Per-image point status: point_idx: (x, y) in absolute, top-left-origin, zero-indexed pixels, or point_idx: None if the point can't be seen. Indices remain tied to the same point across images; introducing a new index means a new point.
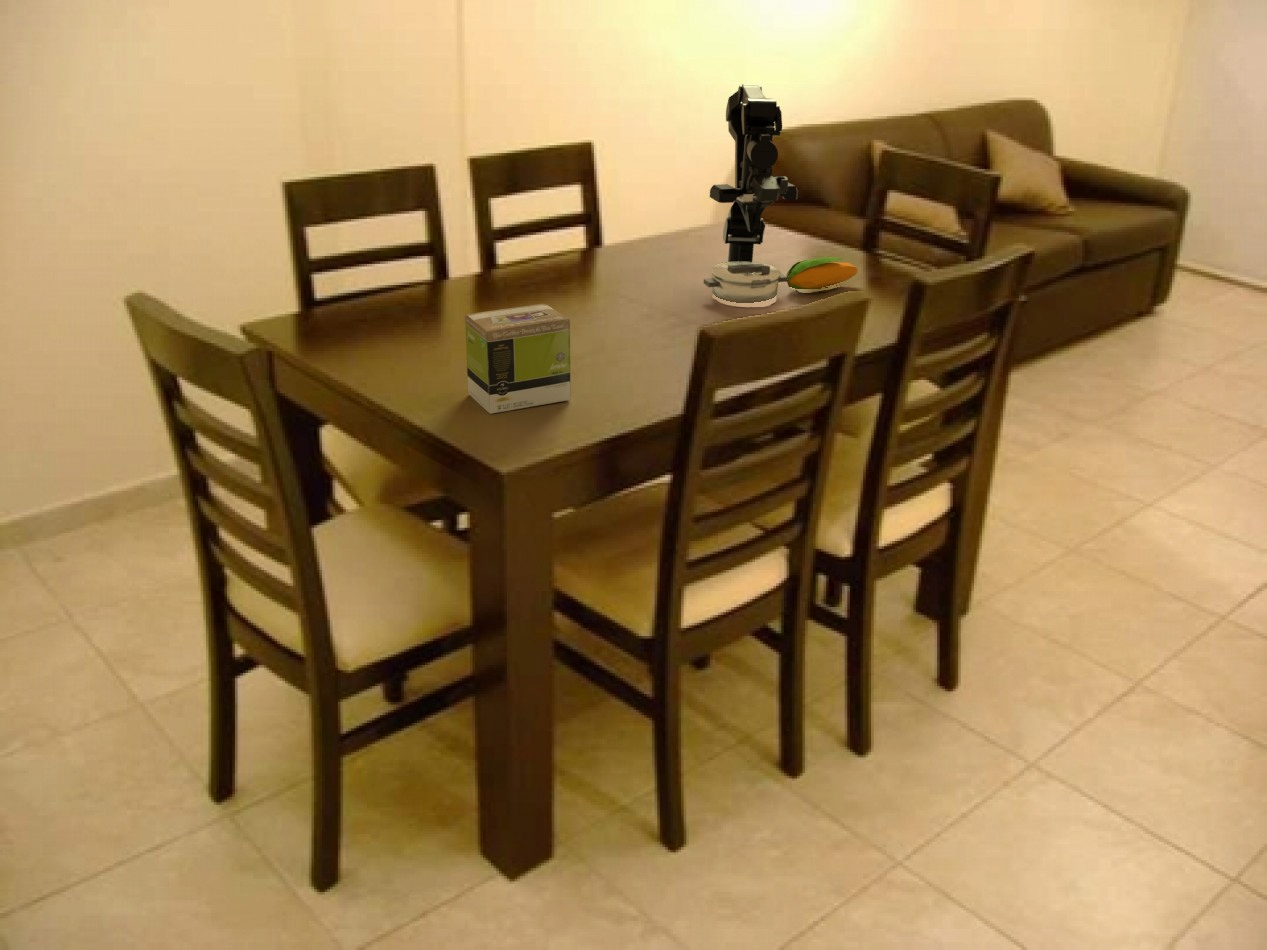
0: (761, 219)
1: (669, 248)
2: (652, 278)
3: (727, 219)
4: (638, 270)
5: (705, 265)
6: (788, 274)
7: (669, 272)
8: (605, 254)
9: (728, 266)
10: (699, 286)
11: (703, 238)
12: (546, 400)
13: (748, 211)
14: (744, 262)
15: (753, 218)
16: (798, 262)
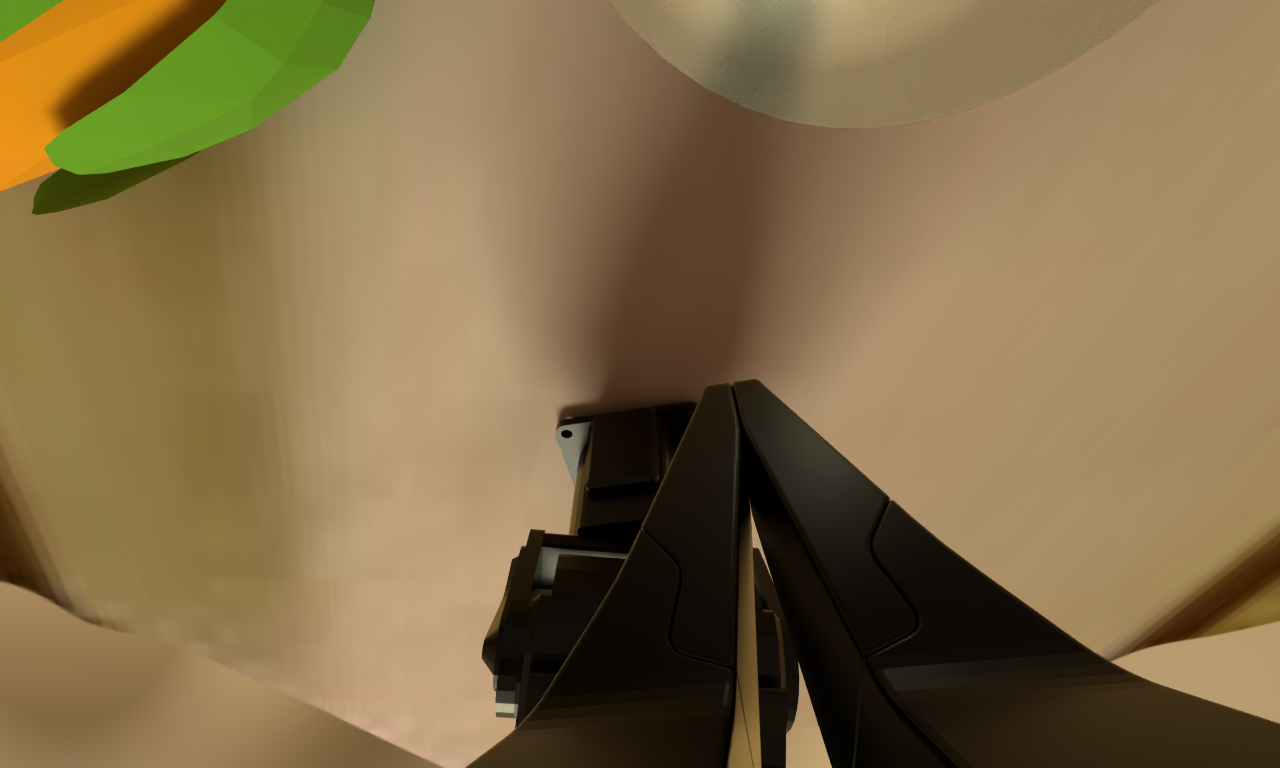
0: (509, 697)
1: None
2: (1204, 320)
3: (794, 704)
4: (1166, 442)
5: None
6: (365, 20)
7: (1032, 410)
8: (1133, 611)
9: None
10: (1031, 144)
11: None
12: None
13: (1012, 615)
14: (808, 82)
15: (746, 533)
16: (211, 38)
